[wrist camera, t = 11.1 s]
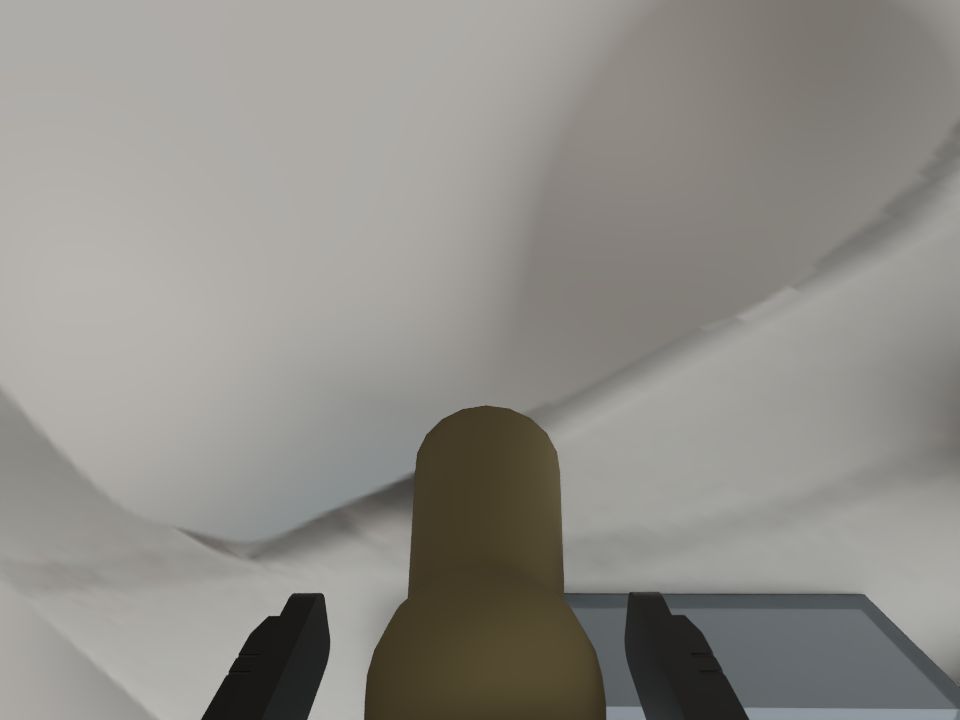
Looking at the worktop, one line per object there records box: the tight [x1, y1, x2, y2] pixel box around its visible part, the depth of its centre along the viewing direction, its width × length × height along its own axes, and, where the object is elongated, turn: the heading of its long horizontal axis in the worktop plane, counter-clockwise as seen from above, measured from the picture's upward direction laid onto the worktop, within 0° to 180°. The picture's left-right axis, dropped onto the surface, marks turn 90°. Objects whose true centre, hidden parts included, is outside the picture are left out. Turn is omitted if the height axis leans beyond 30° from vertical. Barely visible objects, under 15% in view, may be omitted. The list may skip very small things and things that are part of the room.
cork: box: [364, 406, 606, 720], centre depth 14 cm, size 6×6×11 cm
